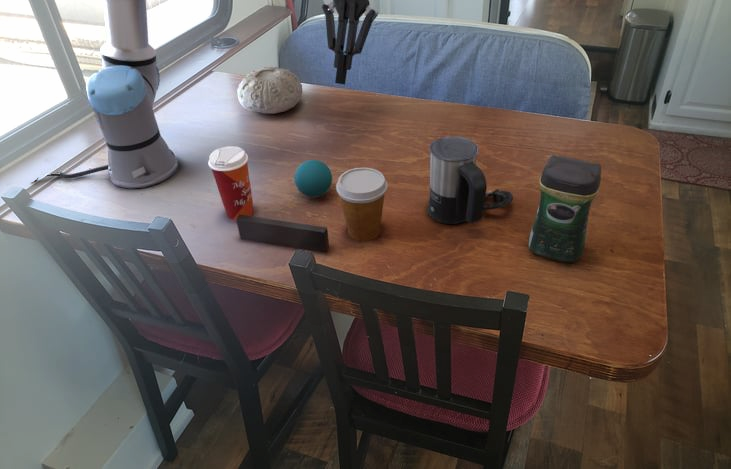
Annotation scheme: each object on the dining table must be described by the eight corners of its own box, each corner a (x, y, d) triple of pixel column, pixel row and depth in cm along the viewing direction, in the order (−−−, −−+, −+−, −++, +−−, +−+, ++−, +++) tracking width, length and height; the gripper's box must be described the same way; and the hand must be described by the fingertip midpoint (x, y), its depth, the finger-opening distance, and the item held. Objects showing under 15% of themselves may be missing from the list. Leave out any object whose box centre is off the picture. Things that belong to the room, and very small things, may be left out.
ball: (291, 202, 116) (286, 170, 111) (304, 181, 122) (300, 150, 117) (326, 207, 114) (323, 174, 109) (338, 186, 120) (335, 154, 115)
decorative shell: (276, 127, 143) (271, 91, 136) (226, 113, 150) (219, 79, 144) (316, 100, 154) (312, 66, 148) (268, 89, 162) (262, 56, 156)
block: (240, 239, 106) (235, 219, 103) (244, 234, 108) (239, 214, 104) (326, 253, 102) (324, 232, 99) (329, 247, 103) (327, 227, 100)
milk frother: (417, 211, 111) (419, 148, 102) (464, 180, 119) (470, 119, 110) (474, 241, 103) (481, 175, 94) (520, 205, 111) (531, 142, 102)
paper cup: (251, 225, 110) (238, 166, 101) (215, 222, 111) (200, 163, 102) (264, 203, 116) (253, 145, 107) (230, 200, 117) (216, 143, 108)
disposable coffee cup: (360, 211, 112) (358, 161, 105) (397, 227, 107) (397, 176, 100) (330, 234, 106) (324, 183, 99) (367, 253, 102) (364, 200, 94)
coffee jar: (585, 243, 101) (609, 157, 90) (577, 269, 96) (601, 181, 84) (533, 230, 105) (550, 145, 93) (523, 254, 99) (539, 167, 88)
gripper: (321, -33, 118) (307, 78, 124) (377, -28, 115) (361, 86, 120) (333, -24, 125) (320, 81, 131) (387, -19, 122) (371, 88, 127)
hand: (340, 83), depth 126 cm, fingers closed
